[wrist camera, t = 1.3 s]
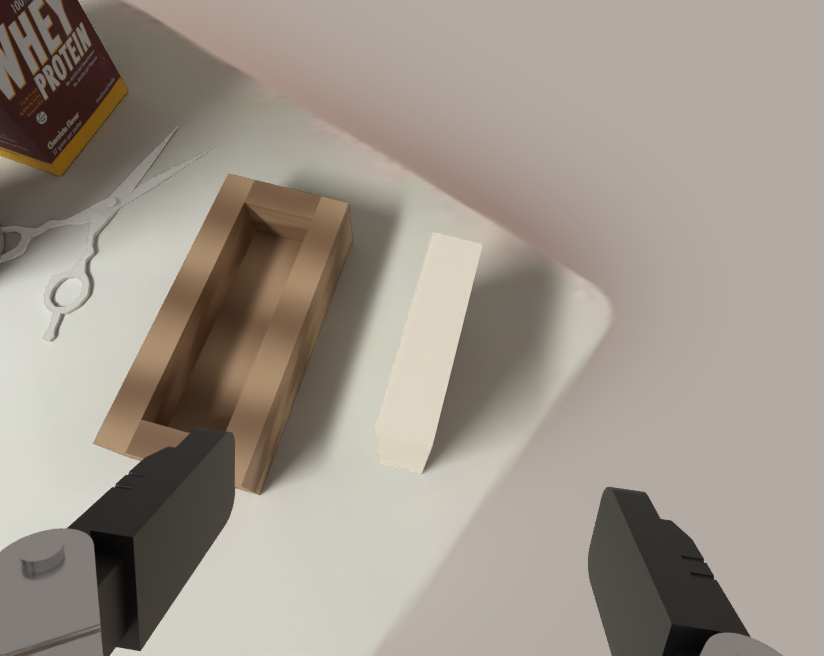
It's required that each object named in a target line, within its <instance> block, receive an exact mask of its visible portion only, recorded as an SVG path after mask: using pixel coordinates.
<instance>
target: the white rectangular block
mask: <svg viewBox="0 0 824 656" xmlns="http://www.w3.org/2000/svg"><path fill="white" fill-rule="evenodd" d="M482 246H483V244H480V243H476V242H472V241H468V240H464V239H459V238H455V237H451V236H447V235H443V234H439V233H435V232H432V236H431V239H430V242H429V246H428V249H427V252H426V256H425V259H424V262H423V266H422V269H421V273H420V276H419V279H418V283H417V286H416V289H415V293H414V296H413V300H412V303H411V306H410V310H409V313H408V316H407V320H406V323H405V326H404V330H403V333H402V337H401V340H400V343H399V347H398V350H397V353H396V357H395V360H394V364H393V367H392V370H391V374H390V377H389V380H388V384H387V387H386V391H385V394H384V397H383V401H382V404H381V407H380V411H379V414H378V417H377V421H376V424H375V428H374V435H375V443H376V451H377V459H378V462H379V463H382V464H386V465H390V466H393V467H397V468H400V469H404V470H408V471H411V472H415V473H418V474H422V472H423V469H424V467H425V464H426V461H427V459H428V456H429V454H430V451H431V448H432V446H433V442H434V438H435V434H436V430H437V426H438V422H439V418H440V414H441V410H442V406H443V402H444V398H445V394H446V390H447V386H448V382H449V378H450V374H451V370H452V366H453V362H454V358H455V354H456V350H457V346H458V342H459V338H460V334H461V330H462V326H463V322H464V318H465V314H466V310H467V306H468V302H469V298H470V294H471V290H472V286H473V282H474V278H475V274H476V270H477V266H478V262H479V258H480V254H481V250H482Z"/></svg>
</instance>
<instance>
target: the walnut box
mask: <svg viewBox="0 0 824 656" xmlns="http://www.w3.org/2000/svg"><path fill="white" fill-rule="evenodd" d="M352 241H353V236H352V227H351V219H350V210H349V203H347V202H343V201H339V200H334V199H330V198H326V197H322V196H318V195H314V194H310V193H306V192H302V191H298V190H294V189H290V188H286V187H281V186H277V185H273V184H269V183H265V182H261V181H257V180H253V179H249V178H245V177H241V176H237V175H233V174H228V175H227V177H226V179H225V181H224V183H223V185H222V187H221V189H220V191H219V193H218V195H217V197H216V199H215V201H214V203H213V205H212V207H211V209H210V211H209V213H208V215H207V217H206V219H205V221H204V223H203V225H202V227H201V229H200V231H199V233H198V235H197V237H196V239H195V241H194V243H193V245H192V247H191V249H190V251H189V253H188V255H187V257H186V259H185V261H184V263H183V265H182V267H181V269H180V271H179V273H178V275H177V277H176V279H175V281H174V283H173V285H172V287H171V289H170V291H169V293H168V295H167V297H166V299H165V301H164V303H163V305H162V307H161V309H160V311H159V313H158V315H157V317H156V319H155V321H154V323H153V325H152V327H151V329H150V331H149V333H148V335H147V337H146V339H145V341H144V343H143V345H142V347H141V349H140V351H139V353H138V355H137V357H136V359H135V361H134V362H133V364H132V366H131V368H130V370H129V372H128V374H127V376H126V378H125V380H124V382H123V384H122V386H121V388H120V390H119V392H118V394H117V396H116V398H115V400H114V402H113V404H112V406H111V408H110V410H109V412H108V414H107V416H106V418H105V420H104V422H103V424H102V426H101V428H100V430H99V432H98V434H97V436H96V438H95V440H94V442H93V444H95V445H98V446H100V447H103V448H106V449H108V450H111V451H113V452H116V453H119V454H121V455H124V456H126V457H129V458H132V459H136V460H139V461H142V460H143V459H144V458H145V457H147V456H149V455H151V454H153V453H155V452H157V451H160V450H162V449H164V448H166V447H168V446H169V447H176V446H177V445H179V444H180V443H181V442H182V441H183V440H184V439H185V438H186V437H187V436H188V435H189V434H190V433H191V432H192V431H193V430H194V429H195V428H206V429H213V430H220V431H227V432H232V433H233V435H234V438H235V488H237V489H240V490H244V491H247V492H251V493H254V494H258V495H260V494H261V491H262V488H263V485H264V483H265V480H266V477H267V474H268V472H269V469H270V466H271V463H272V461H273V458H274V455H275V452H276V450H277V447H278V444H279V441H280V439H281V436H282V433H283V430H284V428H285V425H286V422H287V420H288V417H289V414H290V411H291V409H292V406H293V403H294V400H295V398H296V395H297V392H298V389H299V387H300V384H301V381H302V378H303V376H304V373H305V370H306V367H307V365H308V362H309V359H310V356H311V354H312V351H313V348H314V345H315V343H316V340H317V337H318V334H319V332H320V329H321V326H322V323H323V321H324V318H325V315H326V312H327V310H328V307H329V304H330V301H331V299H332V296H333V293H334V291H335V288H336V285H337V282H338V280H339V277H340V274H341V271H342V269H343V266H344V263H345V260H346V258H347V255H348V252H349V249H350V247H351V244H352Z"/></svg>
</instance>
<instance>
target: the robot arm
mask: <svg viewBox="0 0 824 656" xmlns="http://www.w3.org/2000/svg"><path fill="white" fill-rule="evenodd" d="M3 247H4V236H3V231H2V228H1V226H0V258H1V255H2V252H3ZM234 497H235V438H234V435H233V433H232V432H227V431H220V430H213V429H206V428H195V429H194V430H193V431H192V432H191V433H190V434H189V435H188V436H187V437H186V438H185V439H184V440H183V441H182V442H181V443H180V444H179V445H177V446H176V447H169V446H168V447H166V448H164V449H162V450H160V451H157V452H155V453H153V454H151V455H149V456H147V457H145V458H144V459H143V460H142V461H141V462H140V463H138V464H137V465H136V466H135V467H134V468H133V469H132V470H131V471H130V472H129V475H125V476H124V477H123V478H122V479H121V480H120V481H119V482H118V483H116V486H115V488H114V487H112V488H111V489H110V490H109V491H108V492H107V493H105V494H104V495H103V496H102V497H101V498H100V499H99V500H98V501H97V502H95V503H94V504H93V505H92V506H91V507H90V508H89V509H88V510H87V511H86V512H84V513H83V514H82V515H81V516H80V517H79V518H78V519H77V520H76V521H75V522H73V523H72V524H71V525H70V526H69V527H68V528H67V529H51V530H46V531H41V532H38V533H34V534H31V535H29V536H26V537H24V538H22V539H19V540H17V541H16V542H14V543H12V544H10V545H9V546H7V547H6V548H4V549H3V550H2V551H1V552H0V656H110V654H111V653H112V652H113V650H114V649H115V647H120V648H125V649H131V650H137V651H141V649H142V648H143V646H144V645H145V643H146V642H147V641H148V639H149V638H150V636H151V635H152V633H153V632H154V630H155V629H156V627H157V626H158V624H159V623H160V621H161V620H162V618H163V617H164V615H165V614H166V612H167V611H168V609H169V608H170V606H171V605H172V603H173V602H174V600H175V599H176V597H177V596H178V594H179V593H180V591H181V590H182V588H183V587H184V586H185V584H186V583H187V581H188V580H189V578H190V577H191V575H192V574H193V572H194V571H195V569H196V568H197V566H198V565H199V563H200V562H201V560H202V559H203V557H204V556H205V554H206V553H207V551H208V550H209V548H210V547H211V545H212V544H213V542H214V541H215V539H216V538H217V536H218V535H219V533H220V532H221V531H222V529H223V528H224V526H225V525H226V523H227V521H228V519H229V517H230V514H231V511H232V508H233V504H234ZM588 572H589V578H590V583H591V586H592V590H593V593H594V596H595V600H596V603H597V607H598V610H599V613H600V617H601V620H602V624H603V627H604V630H605V634H606V637H607V640H608V644H609V647H610V651H611V654H612V656H783V655H781V654H780V653H778V652H777V651H776V650H774V649H773V648H771V647H769V646H768V645H766V644H764V643H762V642H760V641H758V640H756V639H753V638H751V637H750V635H749V633H748V632H747V630H746V629H745V627H744V625H743V623H742V622H741V620H740V618H739V617H738V615H737V613H736V612H735V610H734V608H733V607H732V605H731V603H730V602H729V600H728V598H727V597H726V595H725V593H724V592H723V590H722V588H721V587H720V585H719V583H718V582H717V580H714V575H713V573H712V572H711V570H710V568H709V567H708V565H707V563H704V558H703V557H702V555H701V553H700V552H699V550H698V549H697V547H696V545H695V544H694V542H693V540H692V539H691V538H690V537H689V536H688V535H687V534H686V533H684V532H683V531H682V530H681V529H680V528H679V527H678V526H676V524H674V523H673V522H672V521H670V520H663V519H660V517H659V515H658V513H657V511H656V510H655V508H654V506H653V504H652V502H651V501H650V499H649V497H648V495H647V494H646V493H645V492H640V491H634V490H627V489H620V488H613V487H607V488H606V489H605V490H604V492H603V494H602V498H601V502H600V507H599V511H598V515H597V519H596V523H595V527H594V531H593V535H592V539H591V544H590V548H589V555H588Z"/></svg>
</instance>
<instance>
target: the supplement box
mask: <svg viewBox="0 0 824 656" xmlns="http://www.w3.org/2000/svg"><path fill="white" fill-rule="evenodd" d="M127 92H128V89H127V87H126V85H125V83H124V82H123V79H122V78H121V76H120V75H119V73H118V71H117V69H116V67H115V66H114V64H113V62H112V60H111V59H110V57H109V55H108V53H107V52H106V50H105V48H104V46H103V45H102V43H101V41H100V39H99V37H98V36H97V34H96V32H95V30H94V28H93V27H92V25H91V23H90V21H89V20H88V18H87V16H86V14H85V12H84V11H83V9H82V7H81V5H80V4H79V2H78V0H0V156H3V157H6V158H8V159H11V160H14V161H17V162H20V163H23V164H26V165H29V166H31V167H34V168H37V169H40V170H43V171H46V172H49V173H52V174H55V175H58V176H62V175H63V173H64V172H65V171H66V170H67V168H68V167H69V166H70V164H71V163H72V162H73V161H74V159H75V158H76V157H77V156H78V154H79V153H80V152H81V151H82V149H83V148H84V147H85V145H86V144H87V143H88V142H89V140H90V139H91V138H92V137H93V135H94V134H95V133H96V131H97V130H98V129H99V128H100V126H101V125H102V124H103V123H104V121H105V120H106V119H107V117H108V116H109V115H110V114H111V112H112V111H113V110H114V108H115V107H116V106H117V104H118V103H119V102H120V101H121V99H122V98H123V97H124V96H125V94H126V93H127Z"/></svg>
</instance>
